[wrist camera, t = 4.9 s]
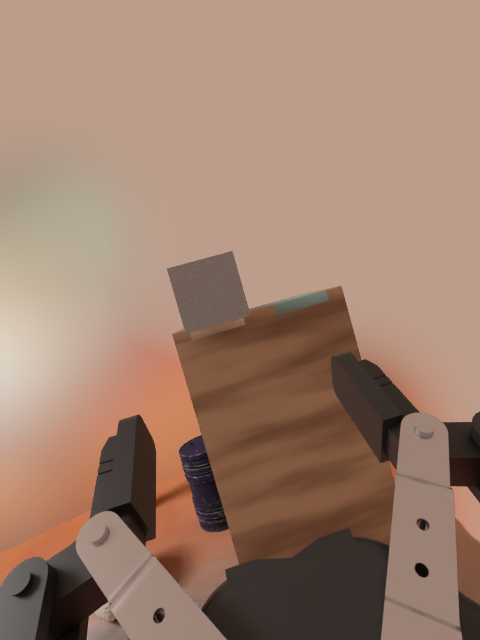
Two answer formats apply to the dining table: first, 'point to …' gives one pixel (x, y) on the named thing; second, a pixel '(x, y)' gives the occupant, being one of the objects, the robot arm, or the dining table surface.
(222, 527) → the storage jar
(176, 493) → the dining table surface
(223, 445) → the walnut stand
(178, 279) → the dark gray rectangular block
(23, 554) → the dining table surface
